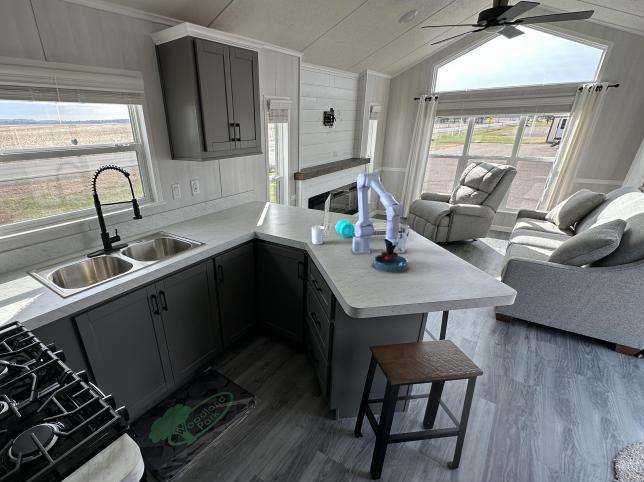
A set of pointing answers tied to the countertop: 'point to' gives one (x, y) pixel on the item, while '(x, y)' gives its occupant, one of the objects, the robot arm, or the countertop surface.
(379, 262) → the bowl
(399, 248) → the beer glass
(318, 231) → the white cup
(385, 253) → the paddle
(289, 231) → the countertop surface
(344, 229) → the donuts
